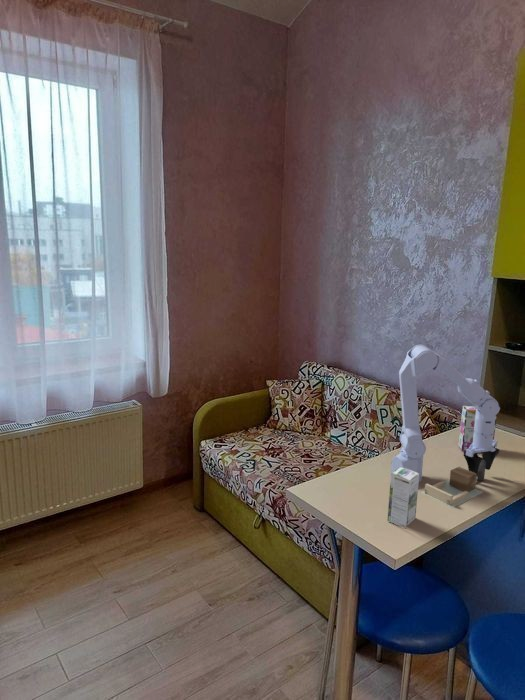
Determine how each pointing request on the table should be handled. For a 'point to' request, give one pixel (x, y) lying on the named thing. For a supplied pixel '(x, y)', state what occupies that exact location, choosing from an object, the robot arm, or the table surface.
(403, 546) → the table surface
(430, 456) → the table surface
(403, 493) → the syrup box
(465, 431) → the candy bar box
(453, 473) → the brown piece
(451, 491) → the lane board
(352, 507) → the table surface
